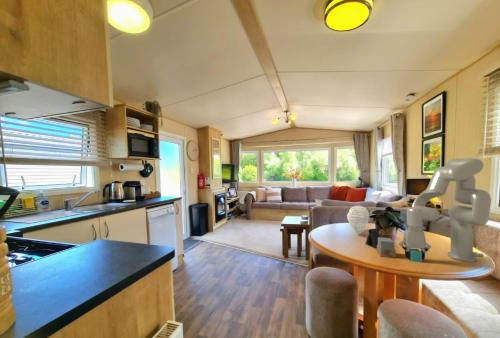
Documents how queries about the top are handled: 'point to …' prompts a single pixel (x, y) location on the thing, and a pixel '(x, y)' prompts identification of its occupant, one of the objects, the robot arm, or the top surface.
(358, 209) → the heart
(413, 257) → the teal block
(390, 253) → the grey square block
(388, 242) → the grey squat block
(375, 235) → the door stopper
